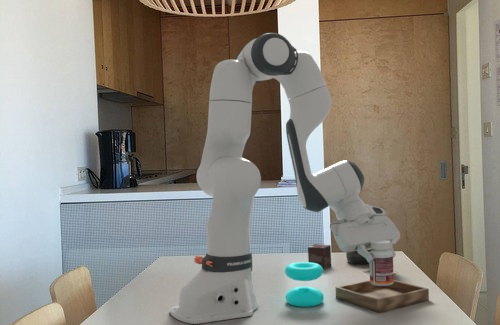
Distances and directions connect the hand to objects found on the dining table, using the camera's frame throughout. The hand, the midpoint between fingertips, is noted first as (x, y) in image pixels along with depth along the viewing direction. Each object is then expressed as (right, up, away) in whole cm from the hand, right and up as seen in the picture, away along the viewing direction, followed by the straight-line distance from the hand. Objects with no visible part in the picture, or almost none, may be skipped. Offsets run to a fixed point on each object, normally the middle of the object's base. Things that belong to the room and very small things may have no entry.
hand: (382, 258), depth 139 cm
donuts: (-21, -12, 0) cm, 24 cm away
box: (-11, -11, +41) cm, 44 cm away
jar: (+4, -10, +47) cm, 48 cm away
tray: (0, -11, +1) cm, 11 cm away
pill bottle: (0, -7, +1) cm, 7 cm away
